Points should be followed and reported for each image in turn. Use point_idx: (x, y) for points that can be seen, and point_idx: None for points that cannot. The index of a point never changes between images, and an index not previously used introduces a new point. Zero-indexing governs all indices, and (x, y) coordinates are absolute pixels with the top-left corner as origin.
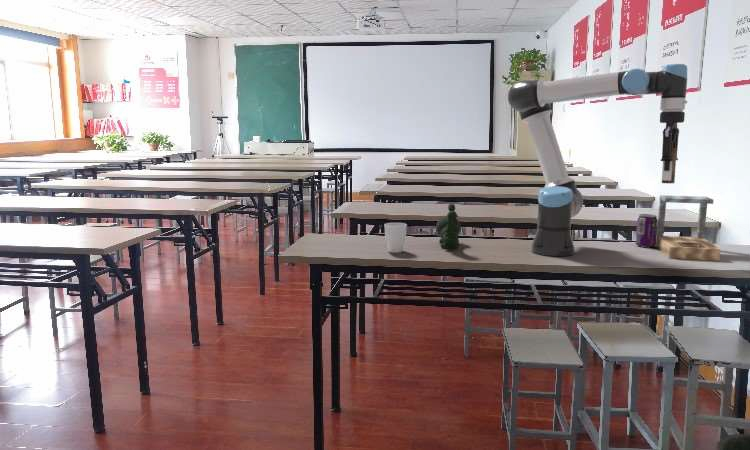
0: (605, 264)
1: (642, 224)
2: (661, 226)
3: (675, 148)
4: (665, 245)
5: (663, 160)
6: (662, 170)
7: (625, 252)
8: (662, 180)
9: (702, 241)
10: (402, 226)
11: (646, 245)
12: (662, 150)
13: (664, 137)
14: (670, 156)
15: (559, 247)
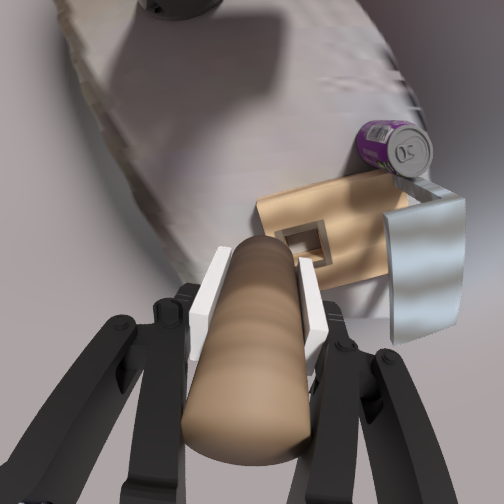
0: (124, 100)
1: (377, 134)
2: (404, 185)
3: (217, 458)
4: (299, 192)
5: (160, 318)
6: (248, 269)
7: (272, 103)
8: (243, 245)
9: (364, 267)
10: None
11: (357, 145)
12: (74, 364)
13: (15, 468)
14: (135, 376)
15: (140, 3)
